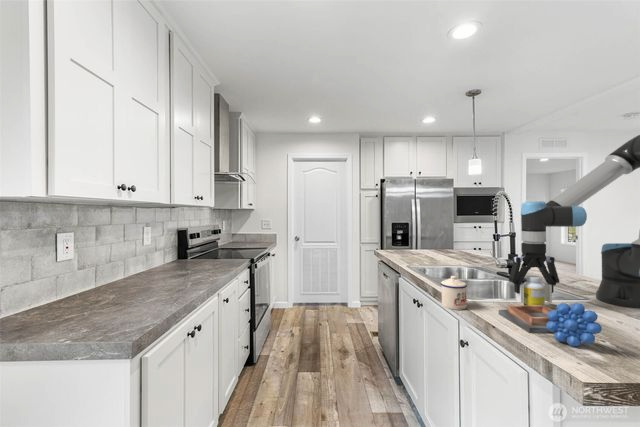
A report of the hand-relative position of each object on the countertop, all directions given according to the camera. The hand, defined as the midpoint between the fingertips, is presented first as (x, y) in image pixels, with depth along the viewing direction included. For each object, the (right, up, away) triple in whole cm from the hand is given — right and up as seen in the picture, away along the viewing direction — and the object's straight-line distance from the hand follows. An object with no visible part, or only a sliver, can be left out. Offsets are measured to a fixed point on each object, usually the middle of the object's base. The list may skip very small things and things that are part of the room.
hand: (533, 301), depth 109 cm
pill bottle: (0, -2, 0) cm, 2 cm away
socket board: (-9, -2, -15) cm, 18 cm away
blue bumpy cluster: (-12, -3, -30) cm, 32 cm away
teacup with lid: (-28, -3, +3) cm, 28 cm away
